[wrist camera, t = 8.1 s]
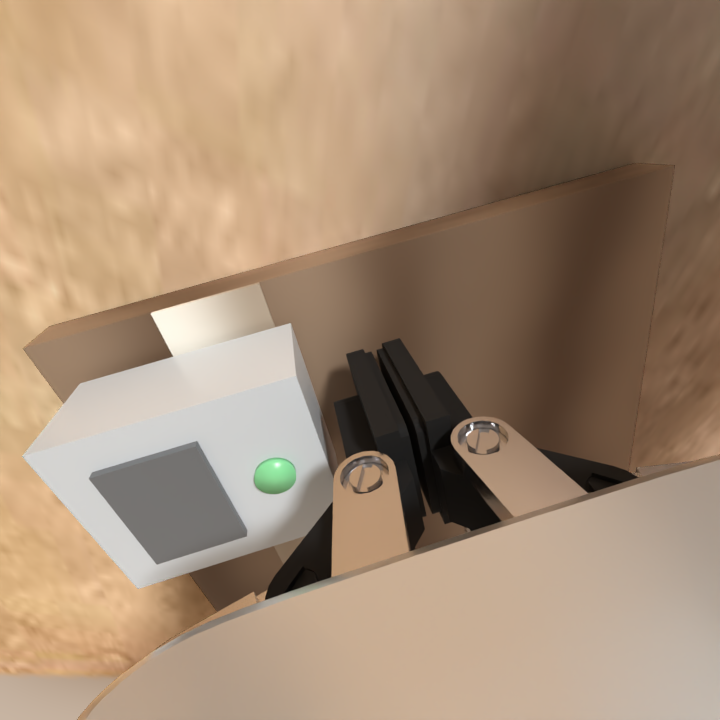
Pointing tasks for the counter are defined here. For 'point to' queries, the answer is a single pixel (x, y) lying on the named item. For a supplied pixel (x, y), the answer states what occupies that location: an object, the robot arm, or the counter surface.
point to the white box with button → (193, 456)
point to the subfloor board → (434, 324)
